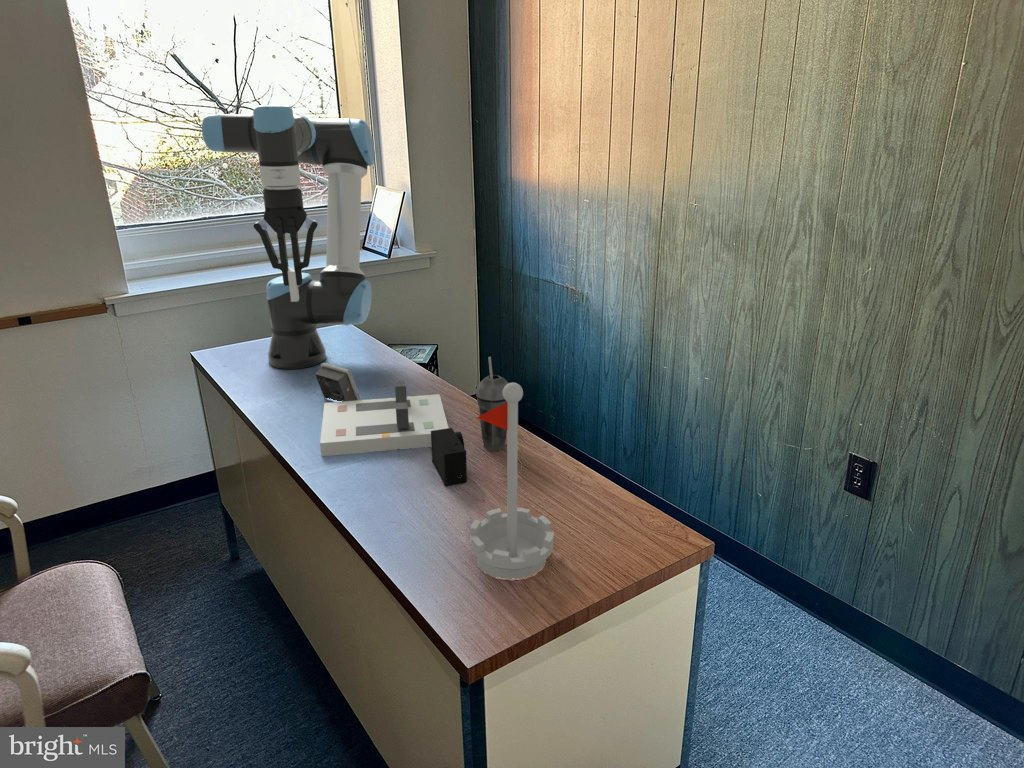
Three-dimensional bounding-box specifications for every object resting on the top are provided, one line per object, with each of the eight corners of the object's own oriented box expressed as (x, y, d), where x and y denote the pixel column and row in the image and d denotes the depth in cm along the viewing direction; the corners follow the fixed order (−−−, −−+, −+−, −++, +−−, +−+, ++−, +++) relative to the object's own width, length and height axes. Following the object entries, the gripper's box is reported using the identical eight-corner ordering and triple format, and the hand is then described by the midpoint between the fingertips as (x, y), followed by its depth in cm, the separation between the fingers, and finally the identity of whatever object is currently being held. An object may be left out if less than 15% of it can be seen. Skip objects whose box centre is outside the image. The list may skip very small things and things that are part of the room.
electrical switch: (361, 402, 165) (355, 367, 160) (346, 411, 161) (339, 376, 157) (333, 393, 169) (327, 359, 165) (318, 402, 166) (310, 367, 161)
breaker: (395, 399, 157) (394, 381, 156) (406, 398, 158) (405, 380, 156) (396, 405, 154) (395, 386, 153) (407, 404, 155) (406, 386, 153)
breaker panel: (325, 414, 158) (324, 402, 157) (439, 405, 163) (439, 393, 162) (321, 456, 140) (319, 442, 139) (450, 445, 145) (449, 431, 144)
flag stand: (545, 532, 116) (550, 364, 105) (560, 582, 104) (567, 399, 93) (467, 537, 115) (463, 368, 103) (473, 588, 103) (469, 404, 91)
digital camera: (473, 482, 131) (472, 449, 128) (445, 487, 129) (444, 454, 127) (458, 457, 140) (457, 426, 137) (432, 461, 138) (430, 430, 136)
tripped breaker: (396, 422, 146) (395, 403, 145) (408, 421, 147) (406, 402, 145) (397, 428, 144) (396, 409, 142) (409, 427, 144) (407, 408, 142)
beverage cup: (518, 445, 145) (519, 355, 137) (494, 457, 140) (494, 364, 132) (493, 434, 149) (493, 346, 142) (469, 445, 144) (467, 355, 137)
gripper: (245, 189, 136) (261, 306, 145) (314, 188, 138) (325, 303, 148) (250, 185, 143) (265, 296, 152) (316, 184, 145) (327, 293, 154)
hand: (295, 299), depth 150 cm, fingers closed
